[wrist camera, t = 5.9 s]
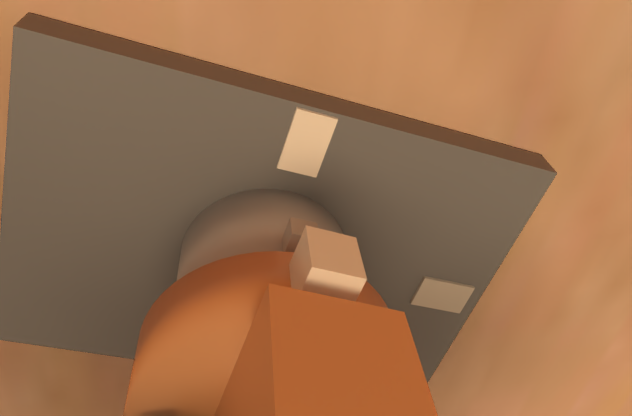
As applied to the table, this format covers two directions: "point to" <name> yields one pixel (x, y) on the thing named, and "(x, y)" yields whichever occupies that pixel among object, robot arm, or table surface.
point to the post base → (228, 190)
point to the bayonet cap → (278, 340)
